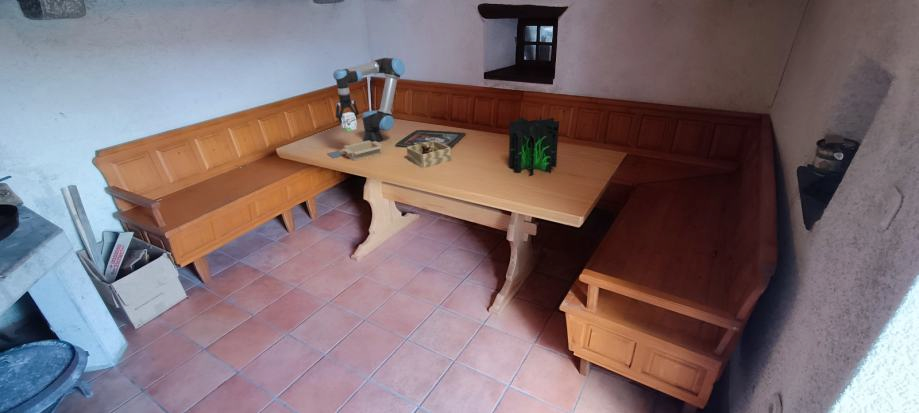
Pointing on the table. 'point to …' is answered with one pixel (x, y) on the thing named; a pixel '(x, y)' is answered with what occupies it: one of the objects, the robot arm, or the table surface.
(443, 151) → the box
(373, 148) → the carton
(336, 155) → the mat
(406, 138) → the religious icon
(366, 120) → the robot arm
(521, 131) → the decorative plant
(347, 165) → the table surface
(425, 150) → the bear figurine
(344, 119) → the ink box
